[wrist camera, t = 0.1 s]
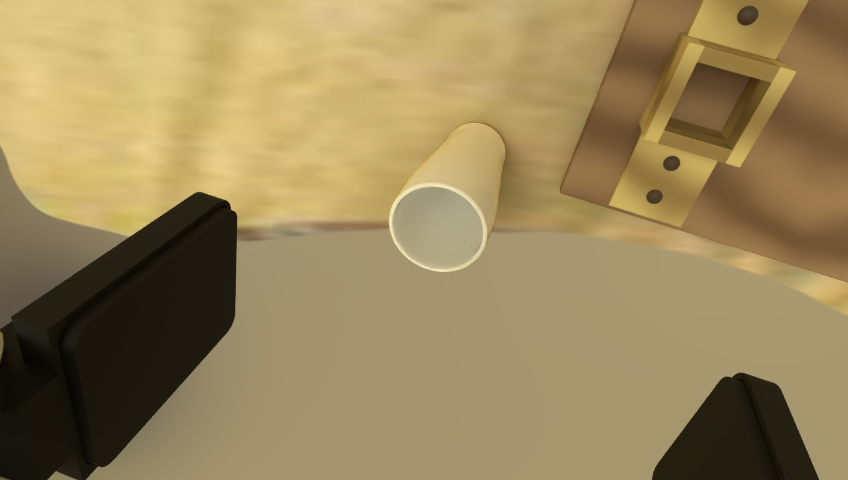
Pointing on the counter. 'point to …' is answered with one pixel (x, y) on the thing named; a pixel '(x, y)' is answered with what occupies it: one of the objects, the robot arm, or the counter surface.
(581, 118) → the counter surface
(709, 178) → the hinge board
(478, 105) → the counter surface
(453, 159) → the drinking glass
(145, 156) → the counter surface
